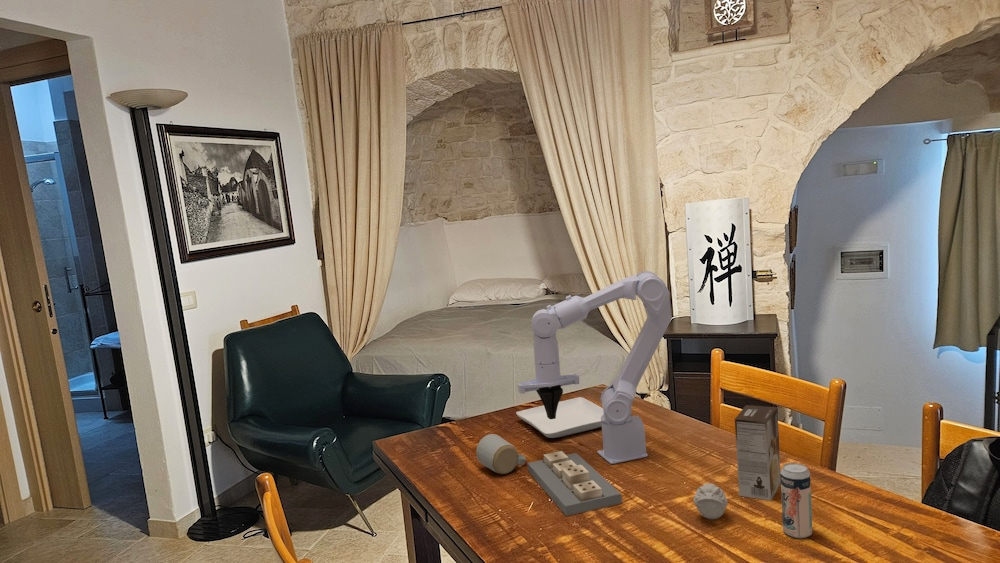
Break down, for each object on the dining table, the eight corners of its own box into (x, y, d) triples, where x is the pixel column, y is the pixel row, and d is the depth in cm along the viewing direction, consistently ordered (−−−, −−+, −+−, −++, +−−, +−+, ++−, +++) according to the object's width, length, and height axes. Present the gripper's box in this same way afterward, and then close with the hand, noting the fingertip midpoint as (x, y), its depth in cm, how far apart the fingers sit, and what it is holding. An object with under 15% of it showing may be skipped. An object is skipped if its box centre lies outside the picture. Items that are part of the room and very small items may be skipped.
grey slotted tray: (576, 461, 159) (576, 452, 159) (622, 503, 136) (621, 493, 136) (528, 471, 156) (527, 462, 156) (566, 516, 133) (565, 506, 133)
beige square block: (594, 495, 140) (592, 479, 139) (602, 503, 136) (601, 488, 135) (574, 499, 139) (572, 484, 138) (582, 508, 135) (581, 492, 134)
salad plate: (547, 445, 171) (546, 432, 171) (515, 422, 191) (514, 410, 191) (620, 428, 179) (619, 415, 178) (582, 407, 198) (581, 396, 198)
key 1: (562, 464, 157) (561, 450, 157) (569, 471, 153) (568, 456, 153) (544, 467, 156) (543, 454, 156) (551, 474, 152) (550, 460, 151)
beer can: (777, 528, 121) (774, 464, 119) (803, 524, 121) (800, 460, 120) (791, 541, 116) (788, 475, 115) (818, 538, 116) (815, 471, 115)
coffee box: (749, 477, 142) (745, 403, 140) (781, 482, 138) (778, 406, 136) (738, 496, 134) (733, 418, 132) (772, 501, 131) (768, 421, 129)
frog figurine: (693, 526, 124) (690, 490, 124) (696, 508, 131) (693, 474, 130) (728, 528, 122) (726, 492, 121) (729, 510, 129) (727, 475, 128)
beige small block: (582, 478, 146) (581, 464, 145) (590, 486, 141) (589, 471, 141) (563, 483, 144) (561, 468, 144) (570, 491, 140) (569, 475, 140)
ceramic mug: (495, 480, 153) (492, 447, 152) (477, 469, 160) (474, 437, 159) (533, 467, 158) (531, 435, 157) (514, 457, 165) (512, 426, 164)
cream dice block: (572, 473, 151) (571, 459, 151) (579, 481, 147) (578, 466, 147) (553, 477, 150) (552, 463, 150) (560, 485, 146) (559, 470, 146)
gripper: (569, 353, 163) (573, 407, 165) (512, 362, 160) (516, 417, 161) (581, 359, 157) (585, 416, 158) (521, 369, 153) (526, 427, 155)
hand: (551, 417), depth 159 cm, fingers closed
